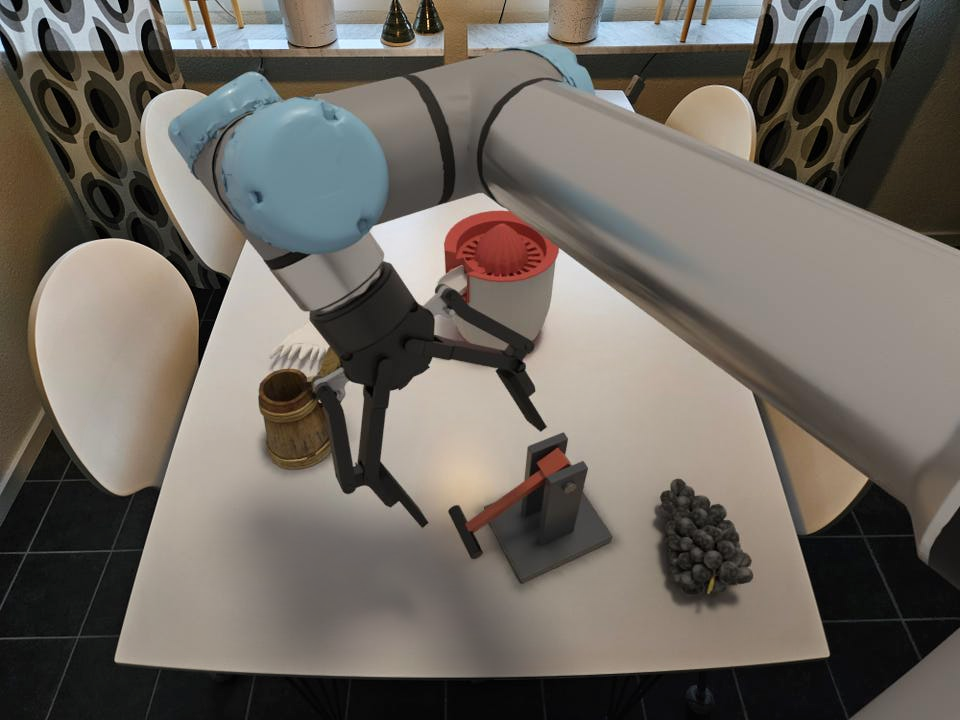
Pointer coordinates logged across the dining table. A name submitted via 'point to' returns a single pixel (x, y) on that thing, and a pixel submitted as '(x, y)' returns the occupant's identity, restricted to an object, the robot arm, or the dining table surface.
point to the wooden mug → (295, 416)
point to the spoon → (302, 343)
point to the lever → (504, 502)
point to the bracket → (550, 518)
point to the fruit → (701, 542)
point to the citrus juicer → (500, 274)
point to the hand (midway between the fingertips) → (480, 470)
